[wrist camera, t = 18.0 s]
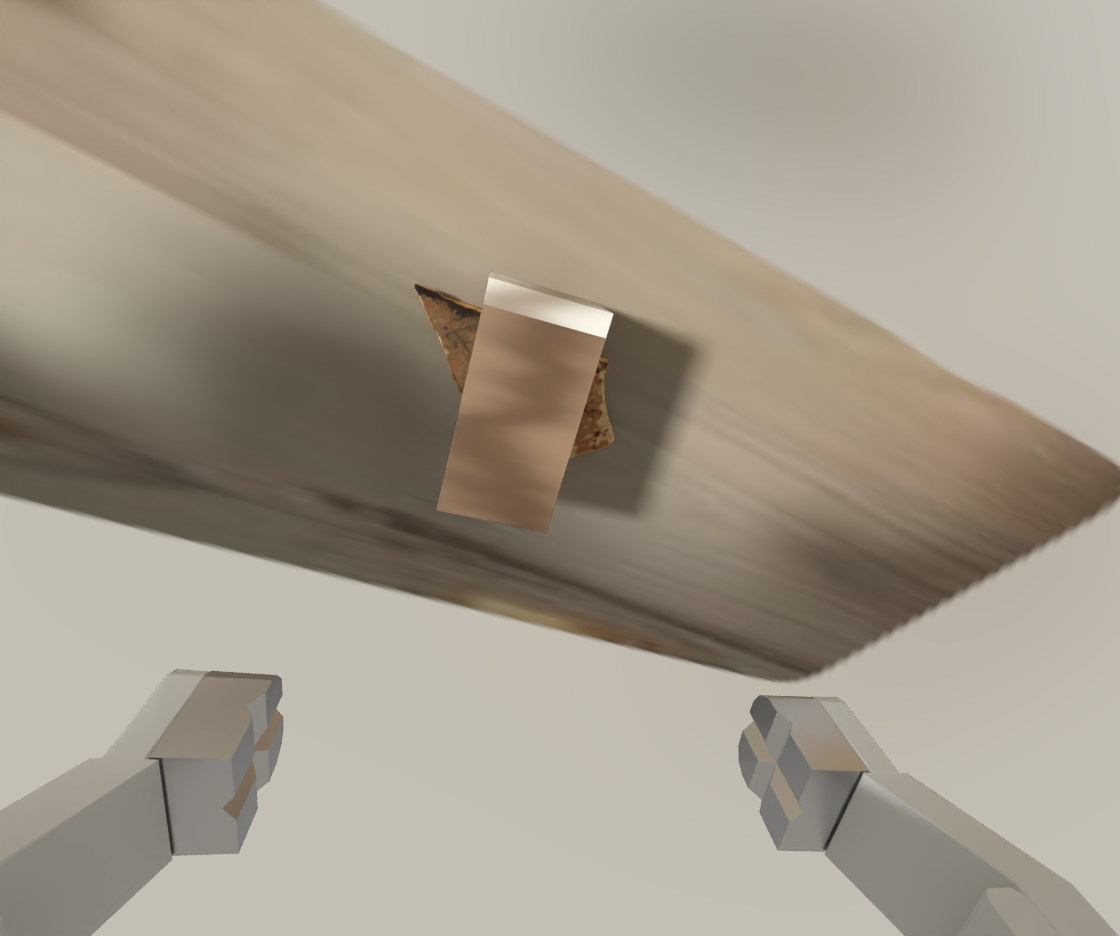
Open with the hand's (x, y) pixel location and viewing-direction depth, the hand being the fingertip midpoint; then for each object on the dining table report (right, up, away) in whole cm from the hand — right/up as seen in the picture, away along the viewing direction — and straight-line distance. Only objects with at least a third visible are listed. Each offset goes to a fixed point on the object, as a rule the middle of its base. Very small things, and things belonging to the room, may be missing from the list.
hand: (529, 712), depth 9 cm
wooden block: (-3, +3, +17) cm, 18 cm away
